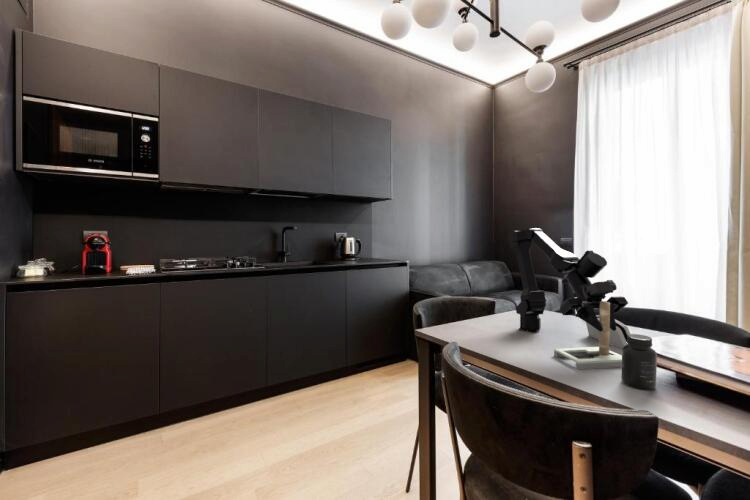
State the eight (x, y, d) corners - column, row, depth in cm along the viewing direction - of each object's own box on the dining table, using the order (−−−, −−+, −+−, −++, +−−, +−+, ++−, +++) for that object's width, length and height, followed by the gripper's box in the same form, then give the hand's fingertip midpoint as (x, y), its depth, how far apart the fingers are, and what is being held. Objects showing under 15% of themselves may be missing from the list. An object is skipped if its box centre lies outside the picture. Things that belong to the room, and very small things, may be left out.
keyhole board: (579, 369, 95) (579, 361, 95) (554, 355, 106) (554, 348, 106) (630, 366, 97) (630, 359, 97) (600, 353, 108) (600, 346, 108)
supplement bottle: (614, 379, 88) (615, 333, 88) (639, 378, 89) (640, 332, 88) (637, 391, 82) (638, 341, 81) (664, 390, 82) (665, 340, 82)
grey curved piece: (640, 349, 111) (631, 320, 110) (627, 355, 110) (618, 326, 110) (601, 334, 127) (593, 309, 127) (589, 339, 127) (581, 314, 126)
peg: (597, 362, 100) (598, 303, 100) (591, 356, 105) (592, 300, 104) (617, 363, 99) (618, 304, 98) (609, 357, 104) (610, 301, 103)
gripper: (566, 271, 104) (593, 316, 93) (623, 270, 106) (656, 314, 95) (550, 293, 112) (573, 337, 101) (603, 291, 114) (631, 334, 104)
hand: (608, 330), depth 100 cm, fingers open, 4 cm apart
